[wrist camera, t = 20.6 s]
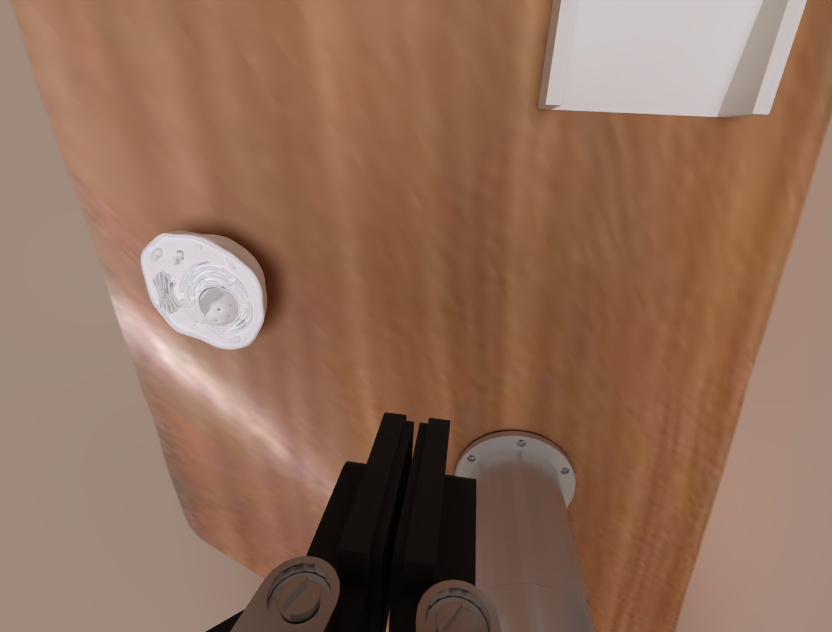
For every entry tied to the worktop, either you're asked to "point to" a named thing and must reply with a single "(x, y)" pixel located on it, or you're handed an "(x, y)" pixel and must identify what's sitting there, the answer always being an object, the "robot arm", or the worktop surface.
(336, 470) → the worktop surface
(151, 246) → the cell model
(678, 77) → the white piece
